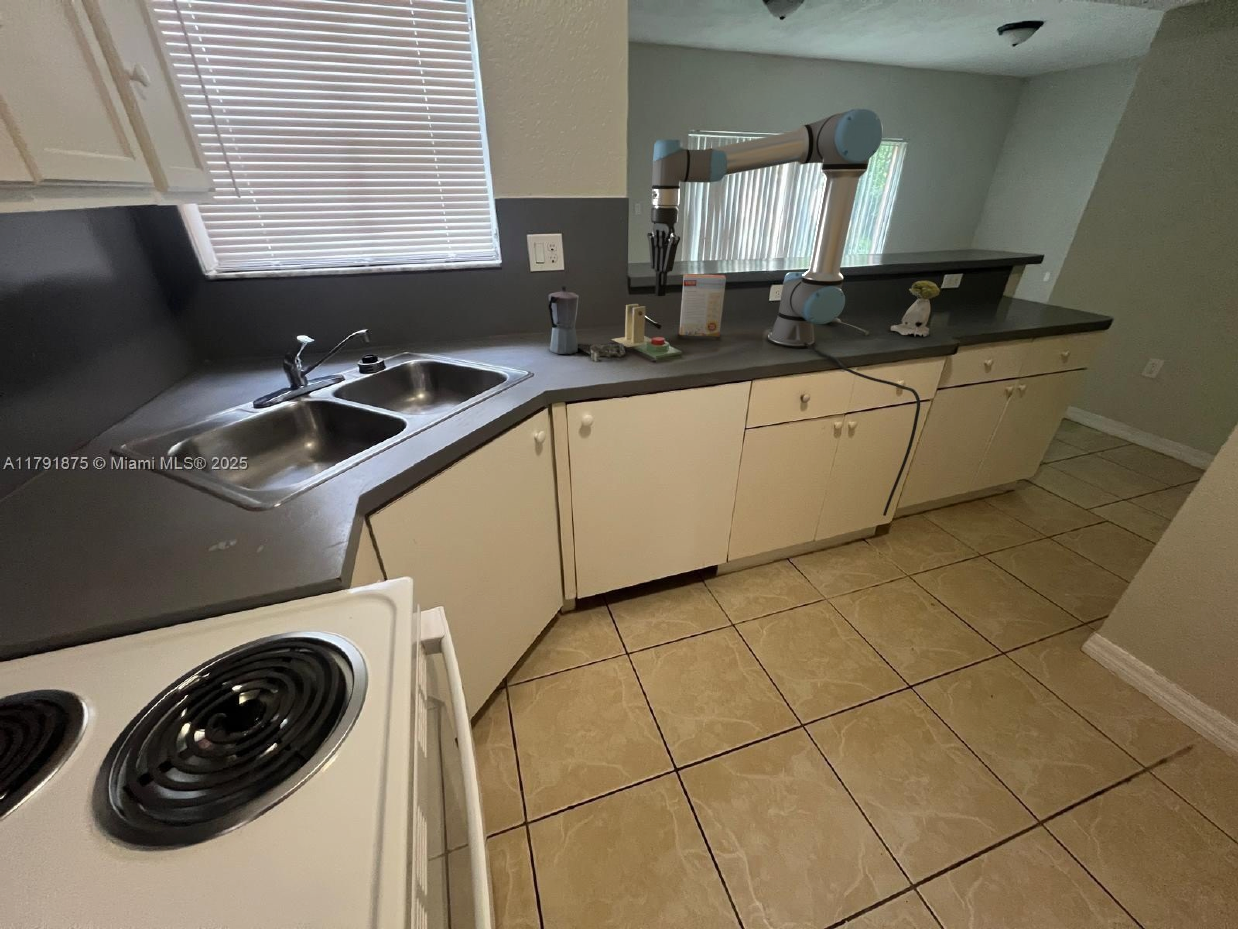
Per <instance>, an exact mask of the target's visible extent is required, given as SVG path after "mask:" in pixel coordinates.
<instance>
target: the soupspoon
mask: <svg viewBox="0 0 1238 929" xmlns="http://www.w3.org/2000/svg"><path fill="white" fill-rule="evenodd" d="M832 322H834V323H836V324H837V323H838V324H842V325H846V326H848V327H851V328H854V329H857V330H859V331H861V332H862V333H864V335H865V336H869V335H870V331H869V330H866V329H864V328H860V327H858V326H855V325H853V324H849V323H846V322H843V321H841V319H840V318H838V317H837V318H835V319H834V320H833V321H832Z"/></svg>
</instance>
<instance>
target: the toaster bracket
mask: <svg viewBox="0 0 1238 929" xmlns="http://www.w3.org/2000/svg"><path fill="white" fill-rule="evenodd" d="M632 306H635V307H634V308H633V315H632V314H631V313H629V311H630V310H631V308H632ZM645 316H646V306H645V305H644V306H643V305H642V306H639V303H632V304H626V305H625V322H624V323H625V325H624V326H625V327H624V328H625V329H624V336H623V337H615V338H612V339H611V340H612V341H614V342H616V343H617V344H620V343H622V344H623V346H624V347H627V348H630V347H631V348H632V347H634V346H637V345H643V344H647V342H648V341H651V340H652V338H650V337H647V336H645V329H646V328H645V327H646V320H645Z"/></svg>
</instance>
